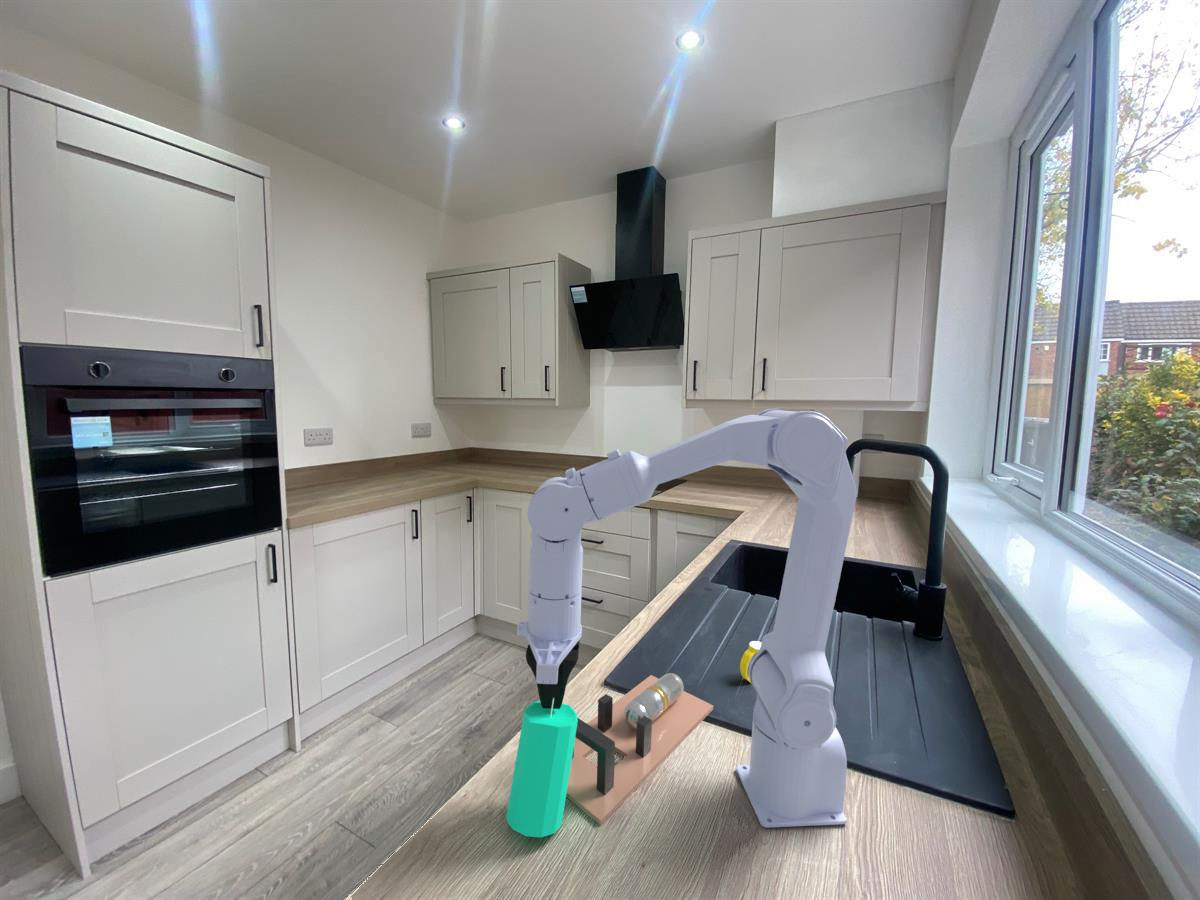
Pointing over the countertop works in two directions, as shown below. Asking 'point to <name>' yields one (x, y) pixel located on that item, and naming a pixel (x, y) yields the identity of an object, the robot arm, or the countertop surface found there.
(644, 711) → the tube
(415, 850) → the countertop surface
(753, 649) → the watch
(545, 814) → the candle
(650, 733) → the black upright posts
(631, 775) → the plate
